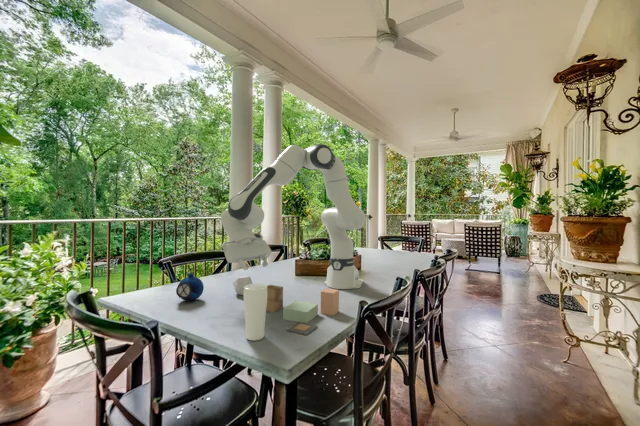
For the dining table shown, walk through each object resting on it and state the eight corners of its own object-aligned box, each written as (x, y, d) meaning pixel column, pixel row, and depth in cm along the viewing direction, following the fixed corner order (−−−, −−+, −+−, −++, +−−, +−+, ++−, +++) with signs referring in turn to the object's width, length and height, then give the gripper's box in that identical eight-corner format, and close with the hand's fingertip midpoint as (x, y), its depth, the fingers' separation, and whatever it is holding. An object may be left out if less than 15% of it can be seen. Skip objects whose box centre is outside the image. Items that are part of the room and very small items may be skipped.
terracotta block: (326, 309, 112) (326, 288, 112) (338, 311, 109) (339, 290, 109) (320, 313, 107) (320, 291, 107) (333, 315, 105) (333, 293, 105)
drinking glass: (270, 338, 85) (271, 287, 85) (248, 344, 81) (249, 290, 81) (261, 330, 91) (261, 282, 91) (239, 336, 87) (240, 285, 87)
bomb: (170, 304, 114) (170, 266, 114) (185, 296, 125) (185, 261, 125) (195, 305, 113) (195, 266, 113) (207, 297, 124) (207, 261, 124)
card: (298, 323, 97) (298, 321, 97) (317, 327, 94) (317, 325, 94) (286, 330, 91) (287, 328, 91) (306, 335, 88) (306, 333, 88)
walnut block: (270, 305, 116) (270, 284, 116) (282, 307, 113) (283, 286, 113) (260, 309, 110) (260, 288, 110) (273, 312, 108) (273, 290, 108)
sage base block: (295, 311, 109) (295, 300, 109) (317, 315, 106) (317, 304, 106) (283, 319, 101) (283, 308, 101) (306, 324, 98) (306, 312, 98)
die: (257, 295, 131) (254, 275, 136) (250, 290, 123) (246, 269, 128) (240, 301, 131) (237, 281, 136) (231, 296, 124) (228, 275, 129)
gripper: (223, 237, 114) (237, 266, 108) (264, 234, 130) (279, 259, 124) (217, 247, 117) (230, 276, 111) (258, 243, 133) (272, 268, 127)
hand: (256, 267), depth 118 cm, fingers open, 8 cm apart
